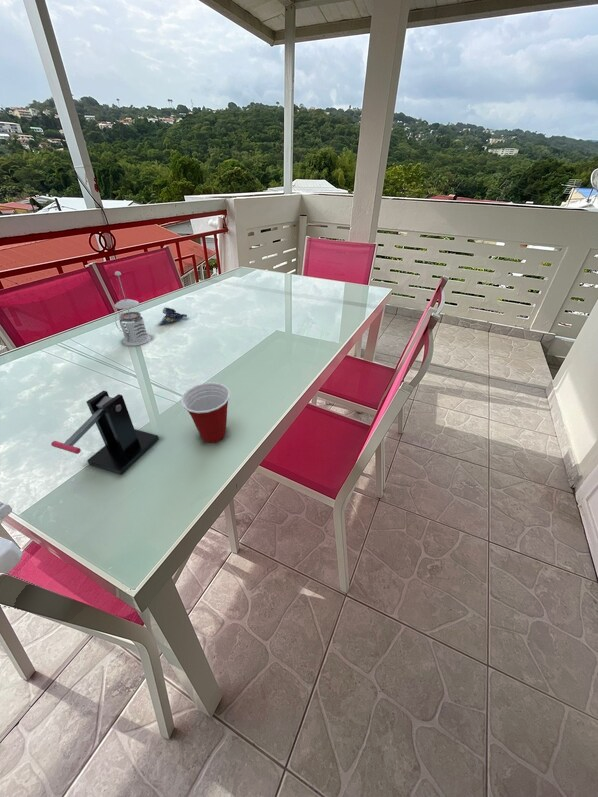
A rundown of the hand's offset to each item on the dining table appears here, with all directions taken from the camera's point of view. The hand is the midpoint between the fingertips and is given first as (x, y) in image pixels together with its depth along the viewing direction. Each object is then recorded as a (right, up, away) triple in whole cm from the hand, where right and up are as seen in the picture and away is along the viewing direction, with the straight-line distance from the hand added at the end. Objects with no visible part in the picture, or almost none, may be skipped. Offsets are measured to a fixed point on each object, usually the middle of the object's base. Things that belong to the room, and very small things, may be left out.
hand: (4, 504), depth 53 cm
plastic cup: (+27, +8, +27) cm, 39 cm away
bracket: (+8, +5, +23) cm, 24 cm away
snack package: (-7, +50, +88) cm, 102 cm away
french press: (-14, +39, +71) cm, 82 cm away
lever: (+6, +11, +13) cm, 18 cm away
